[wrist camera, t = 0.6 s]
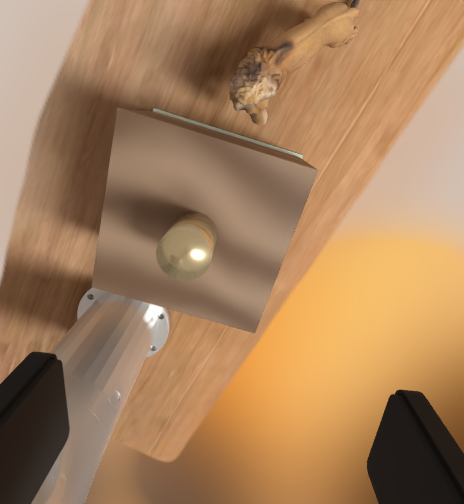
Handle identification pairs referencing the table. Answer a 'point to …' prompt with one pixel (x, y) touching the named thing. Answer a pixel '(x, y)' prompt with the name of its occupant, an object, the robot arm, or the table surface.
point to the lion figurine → (288, 56)
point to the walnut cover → (196, 218)
